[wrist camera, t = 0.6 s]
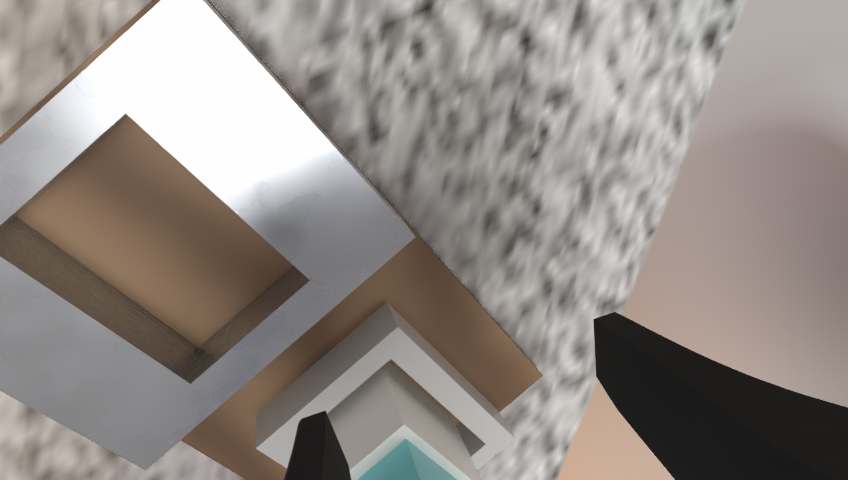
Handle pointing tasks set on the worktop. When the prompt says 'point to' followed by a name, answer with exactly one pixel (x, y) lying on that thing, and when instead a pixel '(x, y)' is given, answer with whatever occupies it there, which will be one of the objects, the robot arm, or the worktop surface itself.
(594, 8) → the worktop surface
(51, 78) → the worktop surface
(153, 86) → the port
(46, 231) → the panel board
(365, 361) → the grey rectangular frame
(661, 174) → the worktop surface
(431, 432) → the plug
